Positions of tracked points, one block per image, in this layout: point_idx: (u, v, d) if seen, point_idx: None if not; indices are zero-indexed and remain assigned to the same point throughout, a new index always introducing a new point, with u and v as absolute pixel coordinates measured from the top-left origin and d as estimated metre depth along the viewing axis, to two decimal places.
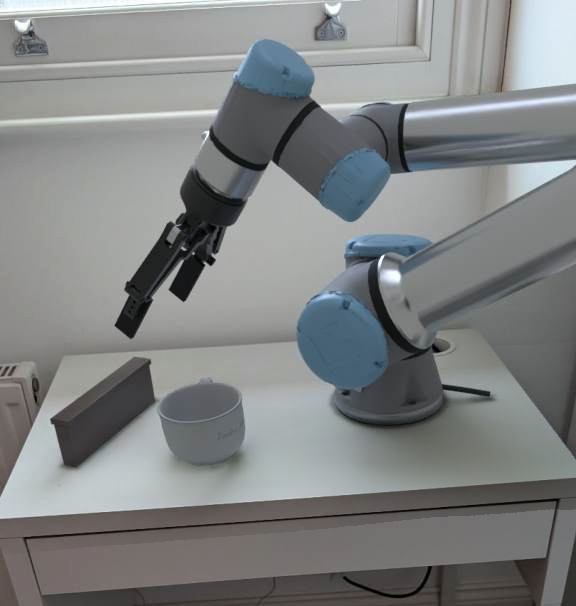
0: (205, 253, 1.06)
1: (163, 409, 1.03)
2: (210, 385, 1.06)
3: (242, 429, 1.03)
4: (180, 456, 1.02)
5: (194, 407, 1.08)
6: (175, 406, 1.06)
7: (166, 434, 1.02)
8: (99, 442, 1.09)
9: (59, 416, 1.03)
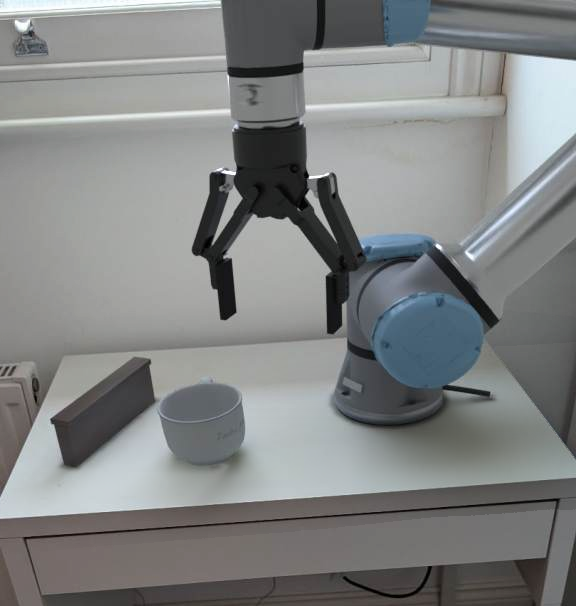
0: (235, 238, 0.91)
1: (163, 409, 1.03)
2: (210, 385, 1.06)
3: (242, 429, 1.03)
4: (180, 456, 1.02)
5: (194, 407, 1.08)
6: (175, 406, 1.06)
7: (166, 434, 1.02)
8: (99, 442, 1.09)
9: (59, 416, 1.03)
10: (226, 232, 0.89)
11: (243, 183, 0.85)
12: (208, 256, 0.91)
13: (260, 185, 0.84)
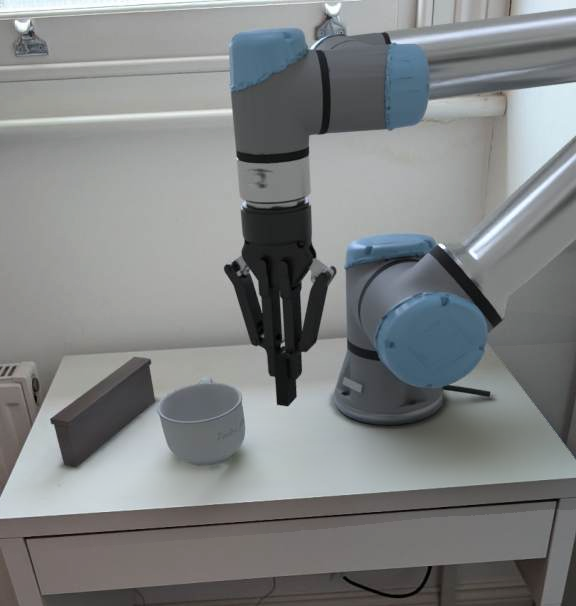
0: (280, 319, 0.94)
1: (163, 409, 1.03)
2: (210, 385, 1.06)
3: (242, 429, 1.03)
4: (180, 456, 1.02)
5: (194, 407, 1.08)
6: (175, 406, 1.06)
7: (166, 434, 1.02)
8: (99, 442, 1.09)
9: (59, 416, 1.03)
10: (266, 316, 0.92)
11: (251, 256, 0.89)
12: (266, 348, 0.94)
13: (264, 256, 0.88)
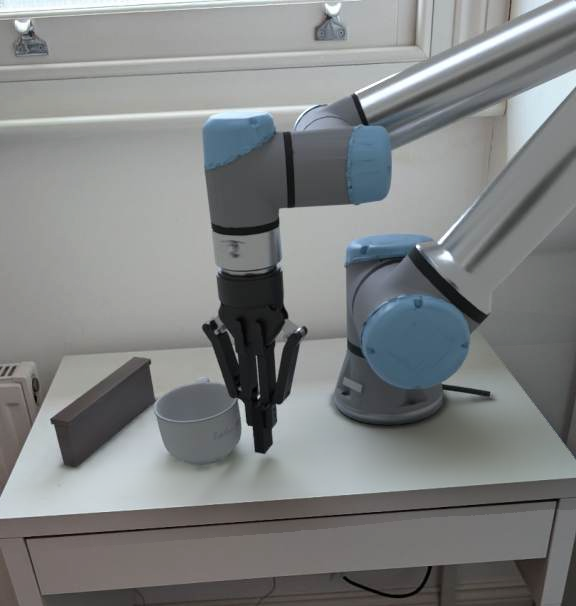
0: (256, 373, 0.99)
1: (159, 408, 1.04)
2: (207, 385, 1.06)
3: (238, 429, 1.03)
4: (176, 455, 1.02)
5: (191, 407, 1.08)
6: (172, 405, 1.06)
7: (162, 433, 1.02)
8: (99, 442, 1.09)
9: (59, 416, 1.03)
10: (242, 371, 0.97)
11: (227, 316, 0.94)
12: (244, 400, 0.99)
13: (239, 317, 0.93)
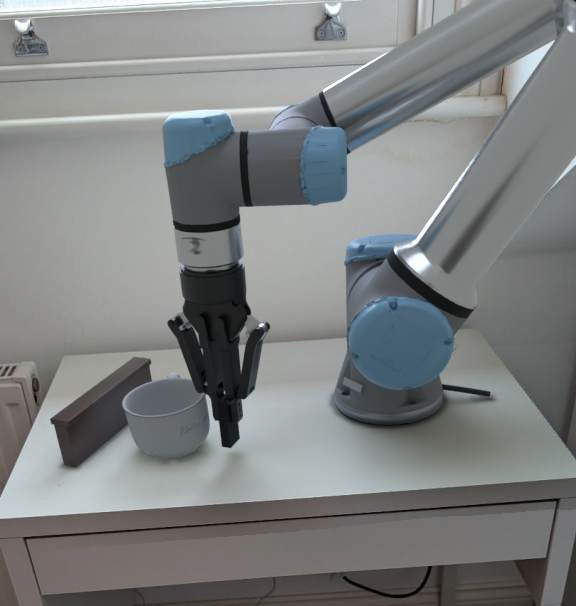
0: (222, 368, 1.01)
1: (129, 403, 1.05)
2: (176, 380, 1.08)
3: (206, 424, 1.04)
4: (144, 450, 1.04)
5: (161, 402, 1.10)
6: (142, 401, 1.08)
7: (131, 428, 1.04)
8: (99, 442, 1.09)
9: (59, 416, 1.03)
10: (208, 367, 0.99)
11: (191, 312, 0.96)
12: (210, 395, 1.01)
13: (202, 313, 0.95)
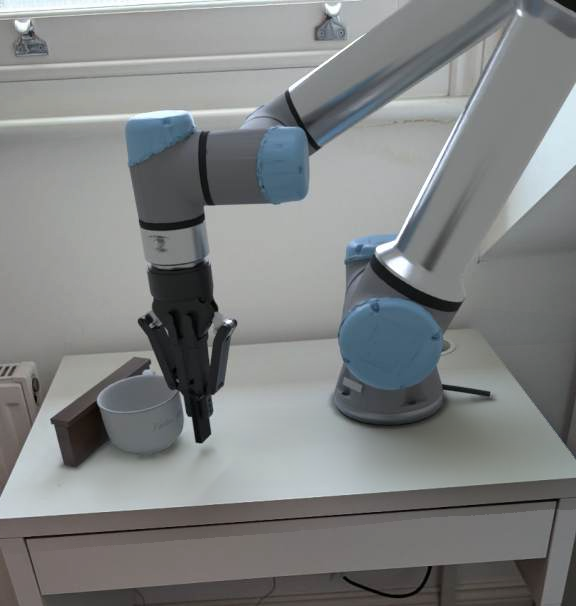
0: None
1: (104, 400, 1.07)
2: (151, 377, 1.09)
3: (179, 420, 1.06)
4: (119, 445, 1.05)
5: (137, 398, 1.11)
6: (117, 397, 1.09)
7: (105, 424, 1.05)
8: (99, 442, 1.09)
9: (59, 416, 1.03)
10: (178, 363, 1.00)
11: (160, 310, 0.97)
12: (182, 392, 1.02)
13: (171, 310, 0.97)
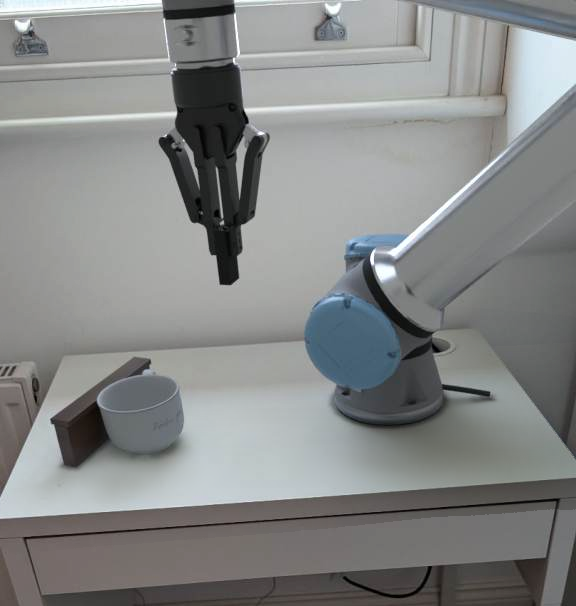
0: (218, 194, 0.95)
1: (104, 399, 1.07)
2: (151, 377, 1.09)
3: (179, 419, 1.06)
4: (119, 445, 1.05)
5: (137, 398, 1.11)
6: (117, 397, 1.09)
7: (105, 424, 1.05)
8: (99, 442, 1.09)
9: (59, 416, 1.03)
10: (203, 189, 0.93)
11: (184, 125, 0.89)
12: (206, 224, 0.95)
13: (197, 124, 0.89)
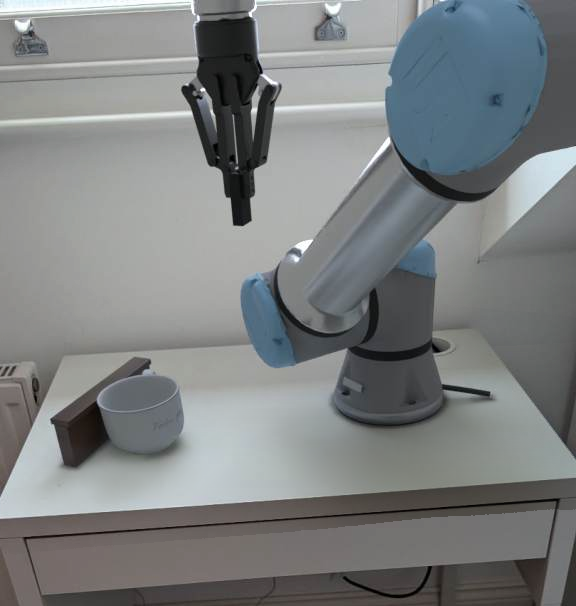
0: (234, 141, 1.03)
1: (104, 399, 1.07)
2: (151, 377, 1.09)
3: (179, 419, 1.06)
4: (119, 445, 1.05)
5: (137, 398, 1.11)
6: (117, 397, 1.09)
7: (105, 424, 1.05)
8: (99, 442, 1.09)
9: (59, 416, 1.03)
10: (220, 135, 1.01)
11: (204, 74, 0.98)
12: (222, 167, 1.03)
13: (216, 73, 0.97)
